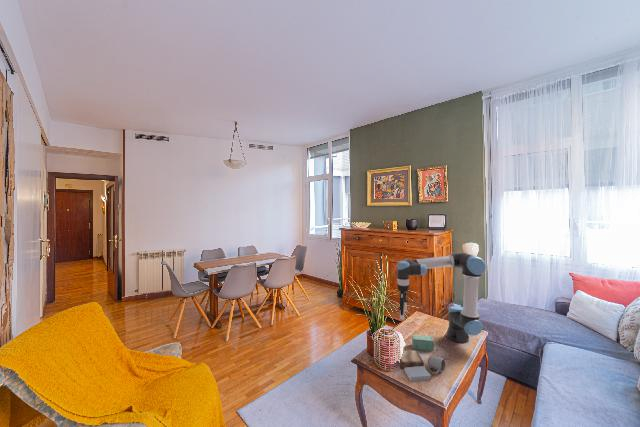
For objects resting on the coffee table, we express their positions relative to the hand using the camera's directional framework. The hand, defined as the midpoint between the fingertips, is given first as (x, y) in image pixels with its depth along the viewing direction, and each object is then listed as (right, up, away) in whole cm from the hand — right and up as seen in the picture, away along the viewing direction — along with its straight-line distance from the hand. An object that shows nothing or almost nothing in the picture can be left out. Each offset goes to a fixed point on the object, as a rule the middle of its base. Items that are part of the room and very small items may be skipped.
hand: (403, 315), depth 182 cm
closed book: (+1, -26, -24) cm, 36 cm away
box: (+15, -25, +6) cm, 30 cm away
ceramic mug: (+14, -26, -20) cm, 36 cm away
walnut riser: (0, -26, -11) cm, 28 cm away
